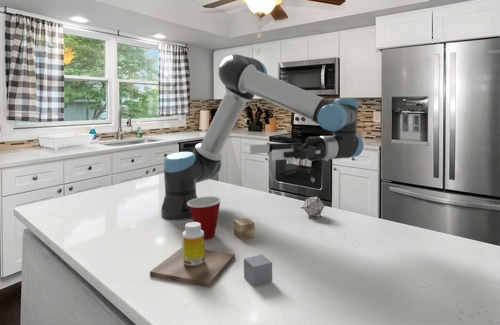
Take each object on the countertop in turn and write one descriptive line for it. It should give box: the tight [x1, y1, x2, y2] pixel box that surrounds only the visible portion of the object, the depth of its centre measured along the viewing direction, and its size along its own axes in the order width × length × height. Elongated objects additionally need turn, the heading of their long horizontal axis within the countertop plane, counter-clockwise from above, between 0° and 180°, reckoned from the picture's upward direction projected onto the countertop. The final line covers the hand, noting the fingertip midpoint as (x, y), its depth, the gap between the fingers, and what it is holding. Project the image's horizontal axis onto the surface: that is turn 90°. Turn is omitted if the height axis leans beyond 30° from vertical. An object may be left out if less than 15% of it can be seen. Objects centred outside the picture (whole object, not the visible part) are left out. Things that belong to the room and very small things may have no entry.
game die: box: [300, 194, 327, 219], centre depth 128 cm, size 9×8×10 cm
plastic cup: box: [187, 195, 222, 240], centre depth 108 cm, size 11×11×12 cm
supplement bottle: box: [181, 221, 205, 266], centre depth 87 cm, size 6×6×10 cm
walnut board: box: [149, 246, 236, 288], centre depth 88 cm, size 16×16×1 cm
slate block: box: [243, 254, 273, 288], centre depth 81 cm, size 5×5×5 cm
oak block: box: [233, 218, 256, 241], centre depth 108 cm, size 5×5×5 cm
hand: (260, 152), depth 98 cm, fingers open, 13 cm apart
